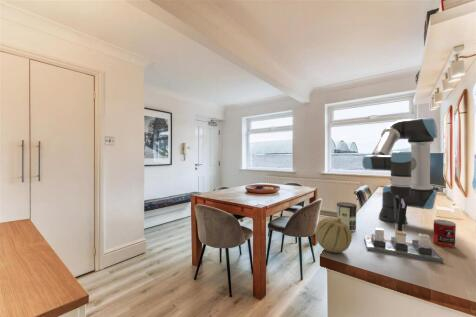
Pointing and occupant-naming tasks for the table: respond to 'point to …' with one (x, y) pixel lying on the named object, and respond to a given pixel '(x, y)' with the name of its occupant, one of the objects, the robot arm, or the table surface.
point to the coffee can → (347, 214)
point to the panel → (410, 249)
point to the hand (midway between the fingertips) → (399, 237)
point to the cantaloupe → (333, 235)
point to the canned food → (444, 233)
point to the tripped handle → (401, 237)
